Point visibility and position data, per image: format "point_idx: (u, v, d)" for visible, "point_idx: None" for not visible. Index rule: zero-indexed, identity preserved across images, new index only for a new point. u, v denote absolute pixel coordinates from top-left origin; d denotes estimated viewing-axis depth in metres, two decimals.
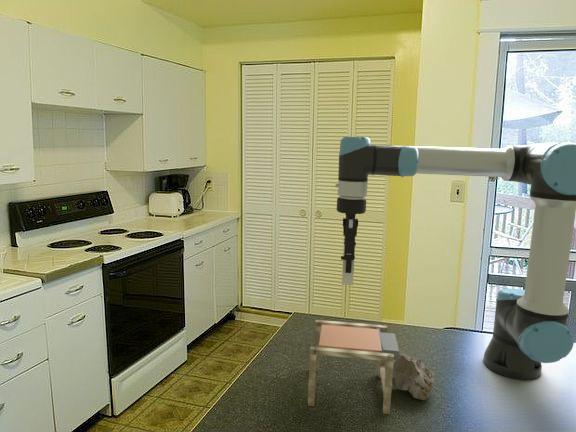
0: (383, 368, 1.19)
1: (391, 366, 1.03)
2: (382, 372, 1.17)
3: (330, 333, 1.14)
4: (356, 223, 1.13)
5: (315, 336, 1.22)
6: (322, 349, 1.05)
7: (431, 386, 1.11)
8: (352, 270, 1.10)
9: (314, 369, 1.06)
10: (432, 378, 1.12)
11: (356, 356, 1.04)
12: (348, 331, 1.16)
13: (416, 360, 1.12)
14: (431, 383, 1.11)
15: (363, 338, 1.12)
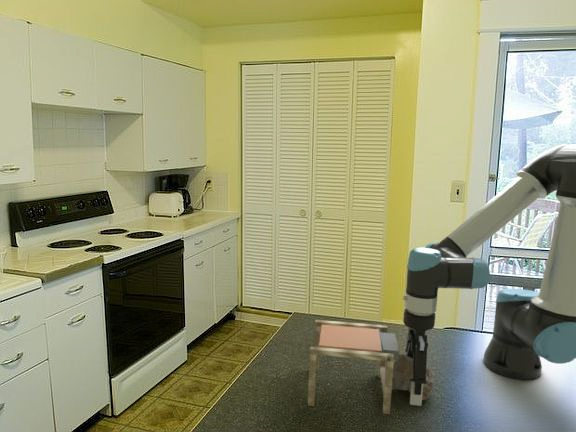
0: (383, 368, 1.19)
1: (391, 366, 1.03)
2: (382, 372, 1.17)
3: (330, 333, 1.14)
4: (425, 339, 1.09)
5: (315, 336, 1.22)
6: (322, 349, 1.05)
7: (431, 386, 1.11)
8: (421, 391, 1.08)
9: (314, 369, 1.06)
10: (432, 378, 1.12)
11: (356, 356, 1.04)
12: (348, 331, 1.16)
13: None
14: (431, 383, 1.11)
15: (363, 338, 1.12)
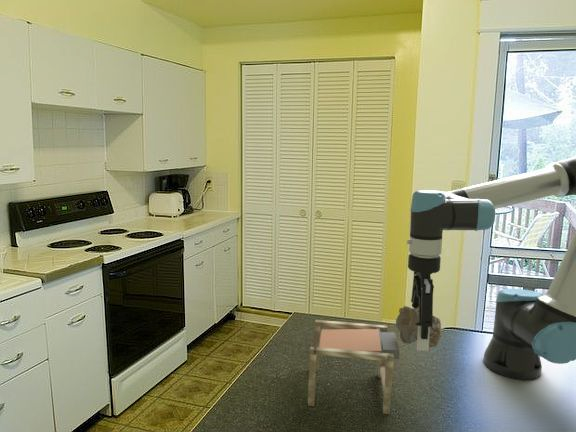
0: (383, 368, 1.19)
1: (391, 366, 1.03)
2: (382, 372, 1.17)
3: (330, 337, 1.14)
4: (430, 283, 1.07)
5: (315, 336, 1.22)
6: (322, 349, 1.05)
7: (438, 331, 1.08)
8: (428, 336, 1.06)
9: (314, 369, 1.06)
10: (438, 324, 1.09)
11: (356, 356, 1.04)
12: (347, 333, 1.16)
13: (418, 309, 1.10)
14: (438, 328, 1.08)
15: (363, 339, 1.12)
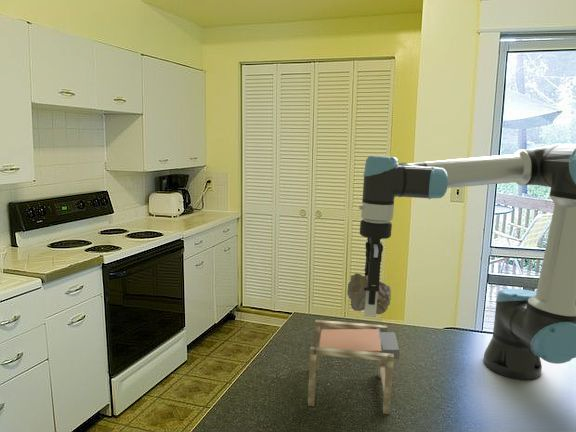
0: (383, 368, 1.19)
1: (391, 366, 1.03)
2: (382, 372, 1.17)
3: (330, 337, 1.14)
4: (381, 249, 1.06)
5: (315, 336, 1.22)
6: (322, 349, 1.05)
7: (387, 298, 1.08)
8: (375, 301, 1.05)
9: (314, 369, 1.06)
10: (388, 291, 1.09)
11: (356, 356, 1.04)
12: (347, 333, 1.16)
13: None
14: (387, 295, 1.08)
15: (363, 339, 1.12)
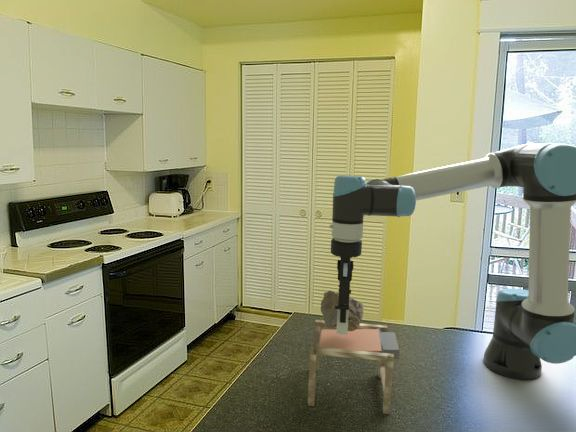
0: (383, 368, 1.19)
1: (391, 366, 1.03)
2: (382, 372, 1.17)
3: (330, 337, 1.14)
4: (351, 267, 1.07)
5: (315, 336, 1.22)
6: (322, 349, 1.05)
7: (359, 315, 1.09)
8: (347, 319, 1.06)
9: (314, 369, 1.06)
10: (360, 308, 1.10)
11: (356, 356, 1.04)
12: None
13: None
14: (359, 313, 1.09)
15: (363, 339, 1.12)
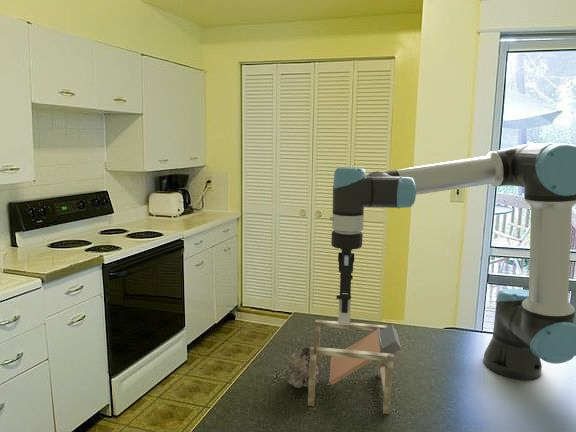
0: (383, 368, 1.19)
1: (391, 366, 1.03)
2: (382, 372, 1.17)
3: (338, 362, 1.15)
4: (352, 259, 1.07)
5: (315, 336, 1.22)
6: (322, 349, 1.05)
7: (299, 370, 1.09)
8: (348, 309, 1.04)
9: (314, 369, 1.06)
10: (294, 365, 1.10)
11: (356, 356, 1.04)
12: (352, 349, 1.16)
13: None
14: (297, 369, 1.09)
15: (365, 348, 1.12)
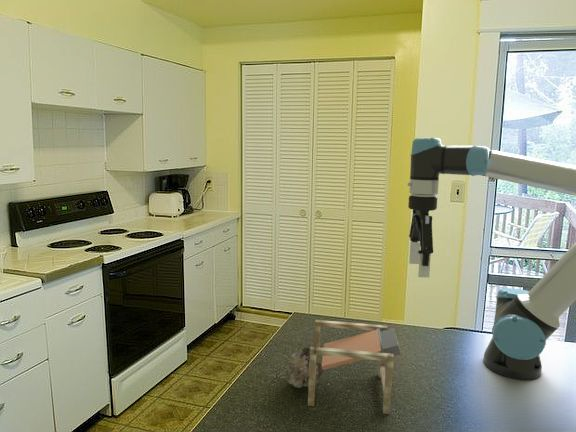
0: (383, 368, 1.19)
1: (391, 366, 1.03)
2: (382, 372, 1.17)
3: None
4: None
5: (315, 336, 1.22)
6: (322, 349, 1.05)
7: (299, 370, 1.09)
8: None
9: (314, 369, 1.06)
10: (294, 365, 1.10)
11: (356, 356, 1.04)
12: (348, 341, 1.16)
13: None
14: (297, 369, 1.09)
15: (363, 344, 1.12)
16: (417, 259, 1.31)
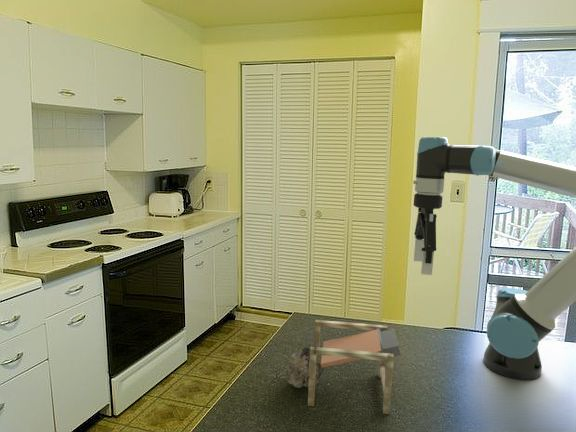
0: (383, 368, 1.19)
1: (391, 366, 1.03)
2: (382, 372, 1.17)
3: None
4: None
5: (315, 336, 1.22)
6: (322, 349, 1.05)
7: (299, 370, 1.09)
8: (431, 261, 1.18)
9: (314, 369, 1.06)
10: (294, 365, 1.10)
11: (356, 356, 1.04)
12: (348, 340, 1.16)
13: None
14: (297, 369, 1.09)
15: (363, 343, 1.12)
16: (421, 256, 1.32)
